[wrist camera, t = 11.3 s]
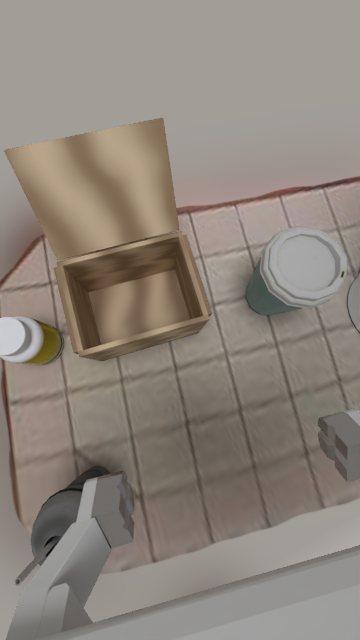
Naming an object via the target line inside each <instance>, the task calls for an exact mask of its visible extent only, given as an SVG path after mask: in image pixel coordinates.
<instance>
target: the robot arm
mask: <svg viewBox="0 0 360 640" xmlns="http://www.w3.org/2000/svg"><path fill="white" fill-rule="evenodd" d="M348 308H349V313H350V316H351V319H352V321H353V323H354V325H355V326H356V328H357V329H358V330H359V332H360V273H359V275H358V277H357V278H356V279H355V281H354V282H353V284H352V286H351V288H350V291H349V295H348ZM318 426H319V427H320V428H321V430H320V432H319V433H318V439H319V443H320V445H321V448H322V450H323V451H324V453H325V454H326V456H327V457H328V458H330V459H332V460H334V461H335V467H336V469H337V470H338V471H339V473H340V474H341V475H342V476H343V478H344V479H345V480H346V482H348V481H352V480H357V479H360V411H358V410H357V409H355V408H353V409H350V410H346V411H343V412H338V413H335V414H331V415H328V416H324V417H321V418H319V419H318ZM133 512H134V496H133V491H132V488H131V485H130V484H128V483H127V475H126V473H125V471H121V472H116V473H112V474H108V475H104V476H100V477H96V478H92V479H88V480H86V482H85V484H84V487H83V492H82V496H81V501H80V506H79V510H78V515H77V520H76V523H72V524H71V526H70V527H69V528H68V530H67V531H66V533H65V534H64V535H63V537H62V538H61V539H60V541H59V542H58V543H57V545H56V546H55V548H54V549H53V550H52V552H51V553H50V554H49V556H48V557H47V559H46V560H45V561H44V563H43V564H42V565H41V567H40V568H39V569H38V571H37V572H36V574H35V575H34V576H33V578H32V579H31V581H30V582H29V583H28V584H27V586H26V587H25V589H24V590H23V591H22V593H21V594H20V597H19V600H18V603H17V606H16V609H15V612H14V616H13V619H12V622H11V625H10V628H9V631H8V635H7V638H6V640H360V545H359V546H356V547H352V548H349V549H345V550H342V551H338V552H335V553H332V554H328V555H325V556H321V557H318V558H314V559H311V560H307V561H304V562H301V563H297V564H294V565H290V566H287V567H284V568H280V569H277V570H273V571H270V572H266V573H263V574H259V575H256V576H253V577H249V578H246V579H242V580H239V581H236V582H232V583H229V584H226V585H222V586H219V587H215V588H212V589H208V590H205V591H201V592H198V593H194V594H191V595H187V596H184V597H181V598H177V599H174V600H170V601H167V602H163V603H160V604H156V605H153V606H150V607H146V608H143V609H139V610H136V611H132V612H129V613H125V614H122V615H119V616H115V617H112V618H109V619H105V620H101V621H98V622H95V623H93V622H92V621H91V619H90V618H89V616H88V614H87V613H86V611H85V610H84V606H85V603H86V601H87V599H88V597H89V595H90V593H91V591H92V589H93V587H94V585H95V583H96V581H97V579H98V577H99V575H100V572H101V570H102V568H103V566H104V564H105V562H106V560H107V558H108V556H109V554H110V552H111V548H115V547H118V546H121V545H124V544H127V543H131V542H133V537H134V522H133V519H132V517H131V515H132V514H133Z"/></svg>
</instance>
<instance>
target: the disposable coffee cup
mask: <svg viewBox="0 0 360 640" xmlns="http://www.w3.org/2000/svg"><path fill="white" fill-rule="evenodd" d="M346 275H347V256H346V255H345V253H344V251H343V250H342V248H341V246H340V245H339V243H338V242H337V240H335V239H333V238H332V237H330V236H329V235H327V234H325V233H324V232H322V231H321V230H318V229H310V228H302V227H293V228H290V229H287V230H284V231H281V232H279V233H277V234H276V235H274V236H273V237H272V238H271V240H270V241H269V242H268V243H267V245H266V246H265V247H264V248H263V250H262V252H261V257H260V260H259V262H258V264H257V266H256V269H255V271H254V273H253V276H252V278H251V280H250V282H249V285H248V287H247V295H246V298H247V300H248V303H249V305H250V307H251V308H252V309H254V310H255V311H256V312H258V313H259V314H265V315H273V314H278V313H283V312H287V311H292V310H296V309H301V308H307V309H311V308H313V307H316V306H318V305H321V304H324V303H326V302H329V301H330V300H331V299H332V298H333V297H334V296H335V294H336V293H337V291H338V290H339V288H340V287H341V286H342V283H343V282H344V280H345V278H346Z"/></svg>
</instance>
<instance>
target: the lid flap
mask: <svg viewBox="0 0 360 640" xmlns="http://www.w3.org/2000/svg"><path fill="white" fill-rule="evenodd" d="M4 152H5V154H6V156H7V158H8V160H9V162H10V164H11V166H12V168H13V170H14V172H15V174H16V176H17V178H18V180H19V182H20V184H21V186H22V188H23V190H24V192H25V194H26V197H27V199H28V201H29V202H30V205H31V207H32V209H33V211H34V213H35V215H36V217H37V219H38V221H39V223H40V225H41V227H42V229H43V231H44V233H45V235H46V237H47V239H48V241H49V243H50V245H51V247H52V249H53V251H54V253H55V256H56V258H57V260H61V259H65V258H69V257H73V256H77V255H81V254H85V253H89V252H93V251H97V250H101V249H105V248H109V247H113V246H117V245H121V244H125V243H129V242H133V241H137V240H141V239H145V238H149V237H153V236H157V235H161V234H165V233H169V232H173V231H177V230H179V224H178V217H177V210H176V204H175V197H174V190H173V183H172V176H171V169H170V162H169V156H168V148H167V141H166V134H165V127H164V120H163V118H159V119H154V120H149V121H144V122H139V123H134V124H129V125H124V126H120V127H115V128H110V129H105V130H100V131H95V132H91V133H85V134H80V135H75V136H71V137H66V138H61V139H56V140H51V141H46V142H41V143H36V144H31V145H27V146H22V147H17V148H12V149H7V150H5V151H4Z"/></svg>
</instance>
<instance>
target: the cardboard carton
mask: <svg viewBox="0 0 360 640" xmlns="http://www.w3.org/2000/svg"><path fill="white" fill-rule="evenodd" d="M57 265H58V267H56V268H54V271H55V275H56V279H57V284H58V288H59V292H60V297H61V301H62V305H63V309H64V314H65V318H66V322H67V327H68V331H69V335H70V339H71V344H72V348H73V352H74V353H76V354H79V357H83V358H89V359H94V360H100V361H104V360H107V359H110V358H114V357H117V356H121V355H124V354H128V353H131V352H134V351H138V350H141V349H145V348H148V347H151V346H155V345H158V344H162V343H165V342H169V341H172V340H175V339H179V338H182V337H186V336H189V335H192V334H196V333H198V332H199V331H200V330H201V329H202V327H203V326H204V325H205V324H206V323H207V322H208V320H209V316H210V315H211V314H212V312H211V309H210V306H209V303H208V300H207V297H206V294H205V291H204V287H203V284H202V281H201V278H200V275H199V272H198V269H197V266H196V263H195V260H194V257H193V254H192V251H191V248H190V244H189V241H188V238H187V235H182V232H181V231H180V232H176V233H172V234H168V235H164V236H160V237H156V238H152V239H148V240H144V241H141V242H137V243H133V244H129V245H125V246H121V247H117V248H113V249H109V250H105V251H101V252H97V253H93V254H89V255H85V256H81V257H77V258H73V259H69V260H65V261H61V262H57Z"/></svg>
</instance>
